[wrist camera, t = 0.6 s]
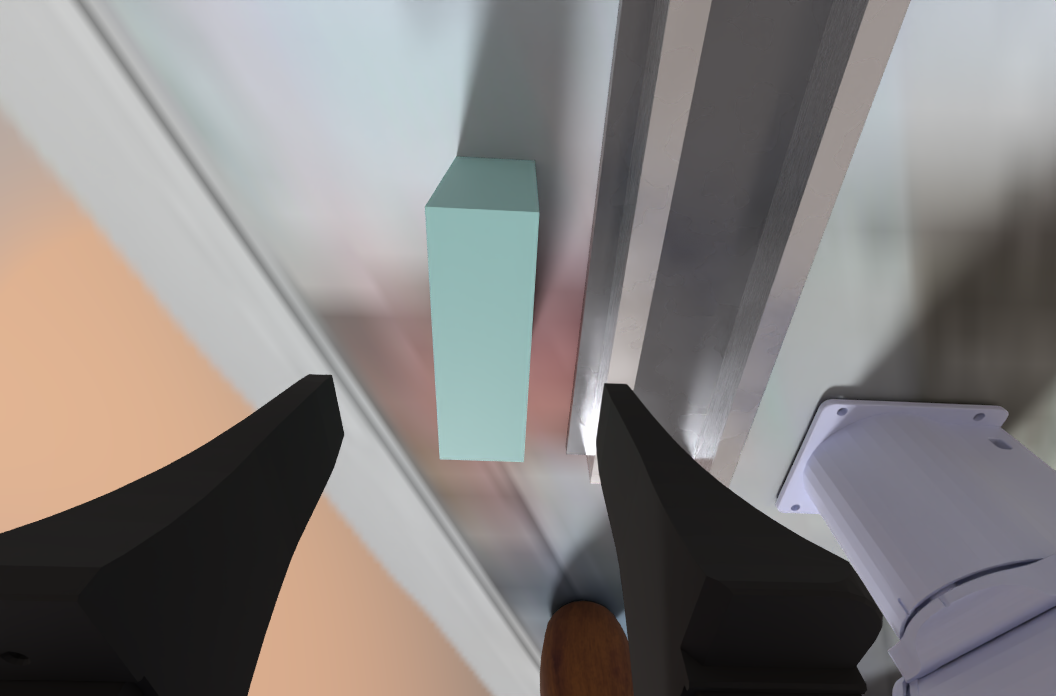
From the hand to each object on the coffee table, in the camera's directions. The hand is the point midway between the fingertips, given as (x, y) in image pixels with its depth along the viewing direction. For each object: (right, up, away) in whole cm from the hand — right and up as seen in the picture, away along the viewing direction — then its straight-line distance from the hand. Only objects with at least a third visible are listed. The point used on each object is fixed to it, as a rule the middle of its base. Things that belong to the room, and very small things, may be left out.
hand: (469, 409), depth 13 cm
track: (+9, +6, +8) cm, 13 cm away
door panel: (0, +5, +8) cm, 10 cm away
